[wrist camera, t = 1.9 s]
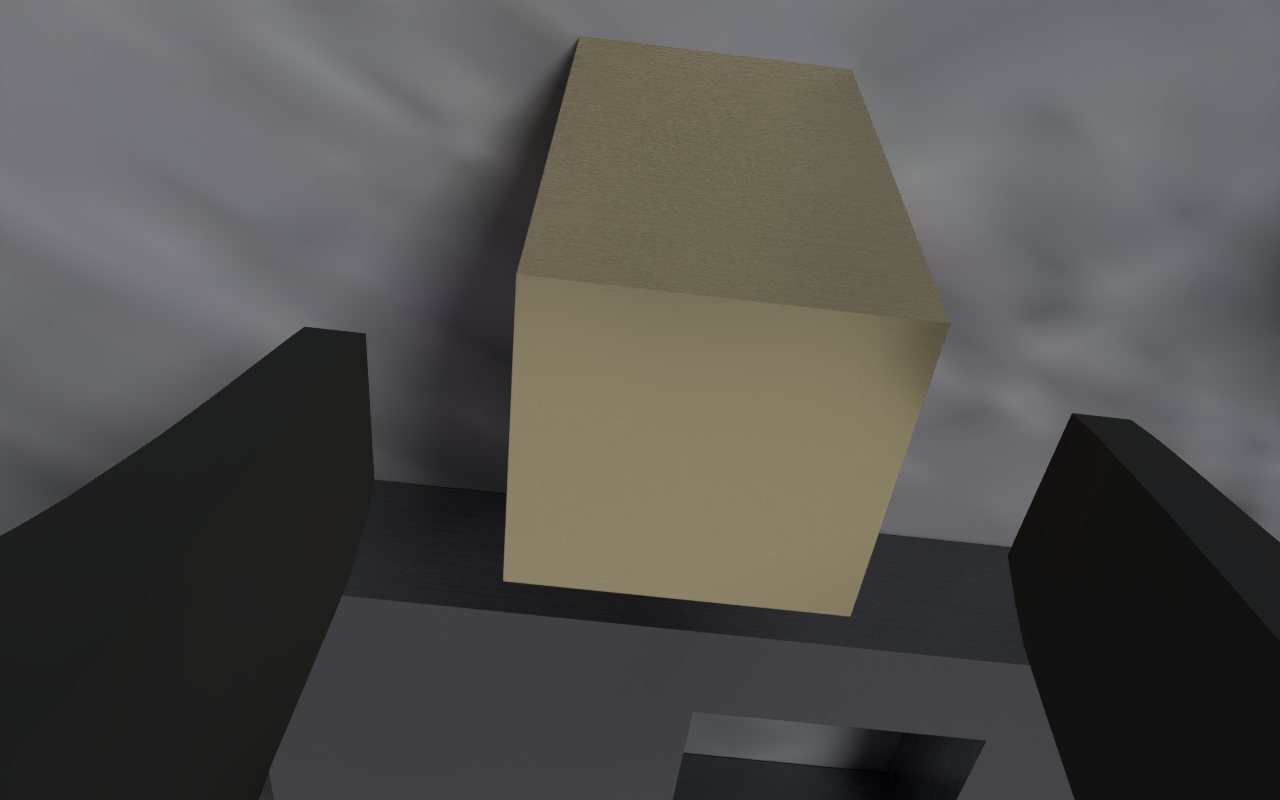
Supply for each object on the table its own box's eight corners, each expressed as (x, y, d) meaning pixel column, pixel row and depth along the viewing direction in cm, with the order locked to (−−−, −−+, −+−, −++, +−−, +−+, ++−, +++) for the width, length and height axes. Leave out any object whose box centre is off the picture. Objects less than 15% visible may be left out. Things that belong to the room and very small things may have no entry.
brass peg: (562, 275, 17) (503, 581, 12) (579, 36, 15) (516, 275, 9) (796, 302, 18) (850, 616, 12) (851, 69, 15) (950, 323, 10)
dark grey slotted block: (326, 771, 26) (289, 887, 24) (289, 471, 20) (235, 584, 18) (1177, 853, 27) (1225, 973, 24) (1383, 586, 21) (1474, 710, 18)
